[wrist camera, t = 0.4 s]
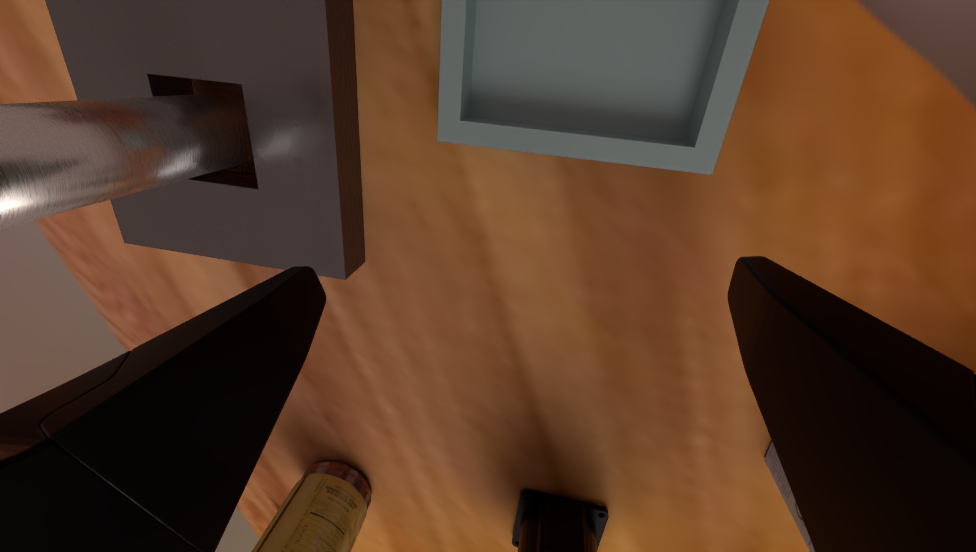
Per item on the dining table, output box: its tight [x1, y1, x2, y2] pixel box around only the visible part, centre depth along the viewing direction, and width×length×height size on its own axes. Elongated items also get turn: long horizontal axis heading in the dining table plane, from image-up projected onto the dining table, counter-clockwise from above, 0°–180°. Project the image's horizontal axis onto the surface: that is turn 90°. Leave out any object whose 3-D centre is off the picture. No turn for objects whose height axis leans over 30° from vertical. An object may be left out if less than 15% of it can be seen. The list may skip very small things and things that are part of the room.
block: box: [45, 0, 365, 280], centre depth 22 cm, size 14×14×2 cm
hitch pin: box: [0, 93, 254, 229], centre depth 17 cm, size 5×5×14 cm
